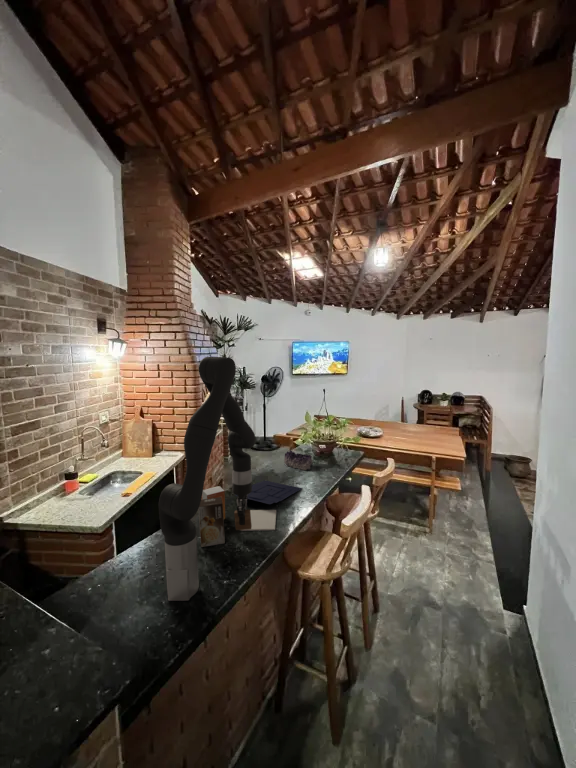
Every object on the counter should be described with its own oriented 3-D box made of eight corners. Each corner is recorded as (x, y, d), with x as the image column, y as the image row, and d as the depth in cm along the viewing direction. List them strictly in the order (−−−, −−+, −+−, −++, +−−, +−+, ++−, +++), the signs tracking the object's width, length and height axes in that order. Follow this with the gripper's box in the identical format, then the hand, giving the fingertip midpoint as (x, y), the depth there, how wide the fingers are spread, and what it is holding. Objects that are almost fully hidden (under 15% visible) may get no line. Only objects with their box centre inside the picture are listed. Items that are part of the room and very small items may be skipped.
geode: (278, 467, 207) (279, 451, 207) (288, 464, 217) (288, 448, 217) (307, 471, 197) (308, 454, 197) (316, 467, 207) (316, 451, 207)
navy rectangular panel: (230, 500, 159) (231, 492, 159) (264, 485, 185) (264, 478, 185) (273, 511, 147) (274, 503, 147) (302, 493, 174) (303, 486, 174)
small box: (208, 524, 139) (206, 495, 138) (203, 518, 145) (201, 489, 143) (225, 518, 144) (224, 490, 142) (220, 513, 149) (219, 485, 148)
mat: (274, 530, 134) (274, 528, 134) (240, 530, 134) (240, 529, 134) (276, 511, 150) (276, 509, 150) (245, 511, 150) (245, 510, 150)
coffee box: (223, 534, 132) (222, 496, 130) (225, 543, 125) (223, 503, 124) (200, 538, 129) (198, 499, 127) (200, 547, 123) (198, 506, 121)
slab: (251, 528, 128) (249, 511, 128) (235, 530, 128) (234, 512, 128) (251, 526, 130) (250, 509, 130) (236, 527, 130) (235, 510, 130)
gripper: (249, 487, 121) (250, 532, 122) (253, 474, 135) (253, 514, 136) (229, 487, 121) (230, 532, 122) (235, 474, 135) (235, 514, 136)
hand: (242, 522), depth 129 cm, fingers closed on slab, 1 cm apart
